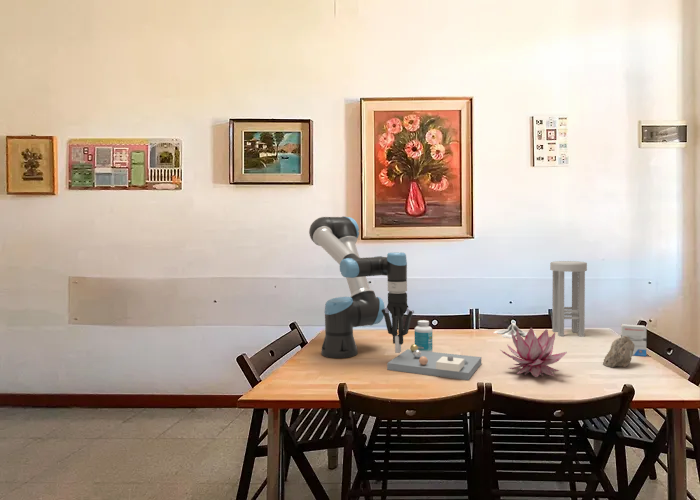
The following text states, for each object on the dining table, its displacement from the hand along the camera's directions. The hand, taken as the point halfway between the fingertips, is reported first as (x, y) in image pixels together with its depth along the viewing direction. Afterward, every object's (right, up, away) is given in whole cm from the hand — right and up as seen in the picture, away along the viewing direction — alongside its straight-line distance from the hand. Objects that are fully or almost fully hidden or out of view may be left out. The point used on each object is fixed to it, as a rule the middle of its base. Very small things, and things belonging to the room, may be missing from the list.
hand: (398, 352), depth 184 cm
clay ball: (+8, 0, -13) cm, 15 cm away
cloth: (+61, -2, +47) cm, 77 cm away
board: (+13, -4, -6) cm, 15 cm away
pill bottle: (+12, -4, +13) cm, 18 cm away
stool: (+87, -1, +45) cm, 98 cm away
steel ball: (+7, 0, -3) cm, 8 cm away
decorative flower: (+46, -4, -16) cm, 49 cm away
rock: (+82, -3, -8) cm, 83 cm away
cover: (+17, -2, -17) cm, 24 cm away
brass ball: (+7, 0, +6) cm, 9 cm away
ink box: (+96, -3, +7) cm, 96 cm away
